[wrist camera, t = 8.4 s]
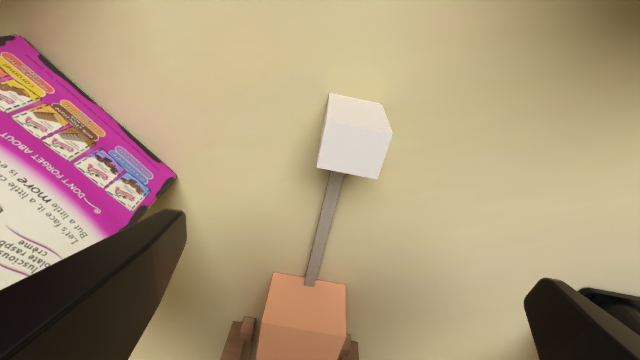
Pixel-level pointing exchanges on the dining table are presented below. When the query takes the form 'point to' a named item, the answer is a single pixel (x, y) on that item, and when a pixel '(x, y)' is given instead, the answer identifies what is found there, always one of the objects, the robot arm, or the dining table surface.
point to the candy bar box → (62, 167)
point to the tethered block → (324, 240)
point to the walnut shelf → (242, 335)
